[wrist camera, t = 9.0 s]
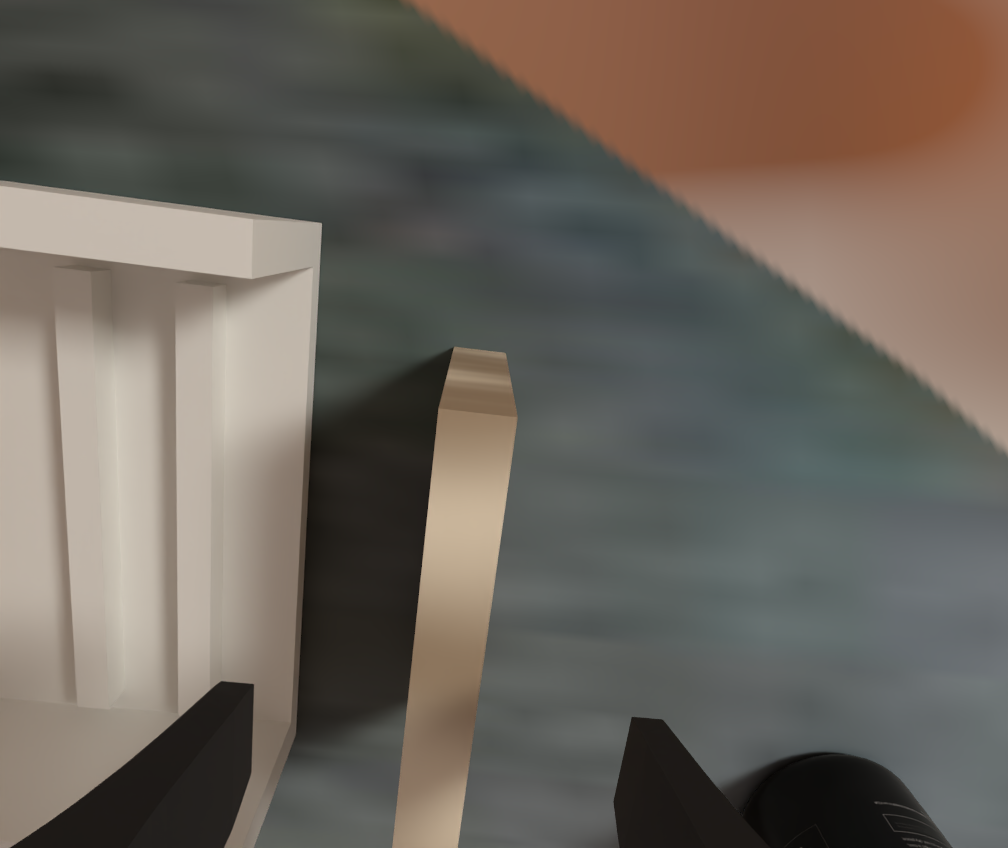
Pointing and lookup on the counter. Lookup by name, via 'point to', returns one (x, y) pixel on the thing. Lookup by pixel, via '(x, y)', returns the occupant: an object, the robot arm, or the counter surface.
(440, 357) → the counter surface
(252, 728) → the robot arm
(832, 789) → the supplement bottle
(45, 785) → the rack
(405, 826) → the tall sheet
